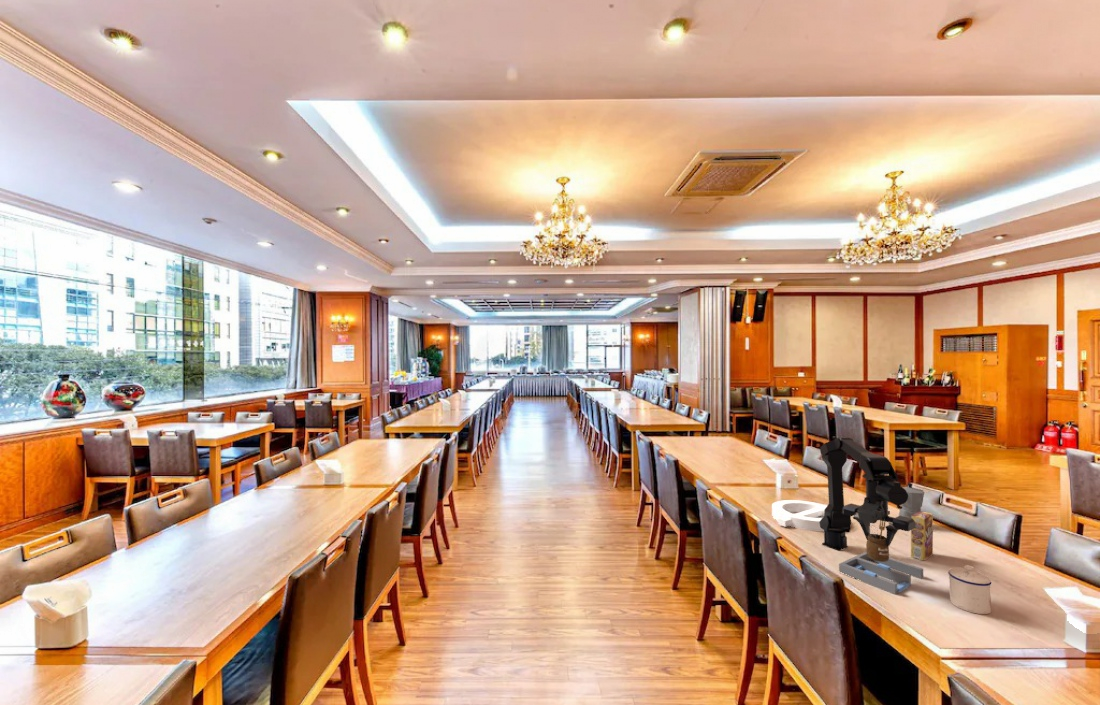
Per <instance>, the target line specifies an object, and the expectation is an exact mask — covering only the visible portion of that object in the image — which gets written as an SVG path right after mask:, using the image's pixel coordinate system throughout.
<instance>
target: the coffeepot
mask: <svg viewBox="0 0 1100 705" xmlns="http://www.w3.org/2000/svg"><path fill="white" fill-rule="evenodd" d="M901 487H902V488H904V489H905V490H906V492H907V494H908V499H907V501H906V502H905V503H904V504H902V505H896V508H897V509H899V513H898V516H903V517H907V518H911V516H912V515H914V514H916V513H918V512H919V511H921V512H922V507H923V504H924V503H923V502H924V497H925V491H924V489H920V488H916V487H913V483H910V482H907V486H901Z"/></svg>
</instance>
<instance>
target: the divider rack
mask: <svg viewBox="0 0 1100 705" xmlns="http://www.w3.org/2000/svg"><path fill="white" fill-rule="evenodd" d="M839 571H840V572H842V573H844V574H847V575H849V576H851V577H850V578H852V577H854V578H856V579H855V580H857V579H859V580H861V581H860V582H862V581H863V582H862V583H864V582H865V584H867V583H868V585H870V586H872V587H875V588H877V589H880V590H883V591H886V592H888V593H890V594H893V595H897V594H899V592H900V593H902V592H903V591H904V589H905V590H906V589H908V588H909V587H910V586H911V585H912V583H911V582H912V581H911V579H912V578H911V577H915V578H917V579H920V580H922V579H923V578H924V568H922V567H920V566H916V565H914V564H911V563H908V562H904V561H901V560H898V559H897V558H892V557H890V556H889V560H888V561H886V562H881V561H876V560H873V559H871V558H869V557H868V556H867V550H866V551H864V552H862V553H860V554H857V555H856V556H853V557H850V558H849V559H846V560H845V561H843V562H840V563H838V572H839ZM844 574H843V575H844ZM908 574H909V575H908ZM911 575H912V576H911ZM849 576H848V577H849ZM854 578H853V579H854ZM859 580H858V581H859ZM892 580H893V581H892Z"/></svg>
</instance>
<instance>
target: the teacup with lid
mask: <svg viewBox="0 0 1100 705" xmlns="http://www.w3.org/2000/svg"><path fill="white" fill-rule="evenodd" d="M947 573H948V579H949V601H950V602H951V604H953V605H954V606H956V607H957V608H958V609H960V610H963V611H966V612H969V613H971V614H972V613H973V614H978V615H988V614H990V613H991V612H992V602H991V600H992V596H991V585H992V581H991V579H990V578H989V576H987V575H986V574H983V573H981V572H979V571H977V570H975V568H974V567H973V566H972V565H969V564H964V566H963V567H952V568H951V567H950V568H949V569H948V572H947Z"/></svg>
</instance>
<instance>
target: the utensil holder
mask: <svg viewBox="0 0 1100 705" xmlns="http://www.w3.org/2000/svg"><path fill="white" fill-rule="evenodd" d="M869 527H870V528H869V529H870V530H871V527H872V529H874V530H871V531H870V532H869V533H870V534H868V540H867V539H866V542H865V543H866V549H865V550H866V551H867V556H868V557H869V558H871V559H873V560H876V561H881V562H886V561H888V560H889V557H890V554H889V553H890V546H887V544H886V536H884V535H882V534H883V531H885V530H886V521H881V520H879V525H878V529H879V530H880V534H879V533H876V532H878V529H877V528H876V525H873V524H870V526H869Z"/></svg>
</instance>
